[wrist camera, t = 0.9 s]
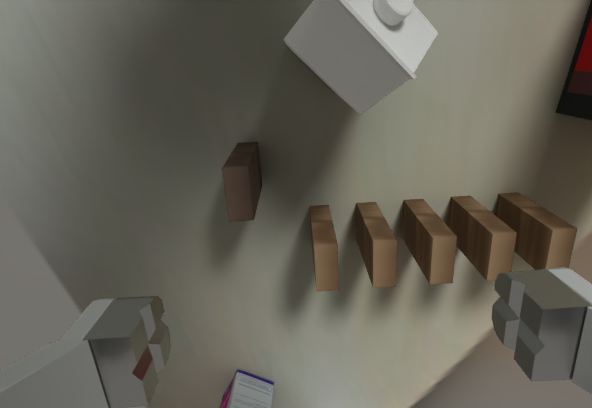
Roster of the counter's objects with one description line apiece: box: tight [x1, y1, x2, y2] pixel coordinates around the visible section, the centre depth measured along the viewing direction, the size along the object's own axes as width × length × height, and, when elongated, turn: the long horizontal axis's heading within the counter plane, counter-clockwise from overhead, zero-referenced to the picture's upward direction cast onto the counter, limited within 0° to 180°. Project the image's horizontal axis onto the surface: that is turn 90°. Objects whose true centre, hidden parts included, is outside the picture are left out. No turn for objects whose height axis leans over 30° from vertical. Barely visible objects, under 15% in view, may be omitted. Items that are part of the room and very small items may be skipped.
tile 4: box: [402, 199, 457, 284], centre depth 41 cm, size 2×5×10 cm, turn 4°
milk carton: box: [284, 0, 438, 114], centre depth 30 cm, size 7×7×19 cm
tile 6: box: [496, 193, 577, 270], centre depth 41 cm, size 2×5×10 cm, turn 4°
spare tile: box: [222, 142, 262, 221], centre depth 39 cm, size 2×5×10 cm, turn 4°
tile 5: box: [449, 196, 517, 281], centre depth 41 cm, size 2×5×10 cm, turn 4°
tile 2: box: [310, 205, 339, 291], centre depth 41 cm, size 2×5×10 cm, turn 4°
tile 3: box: [357, 202, 397, 288], centre depth 41 cm, size 2×5×10 cm, turn 4°
